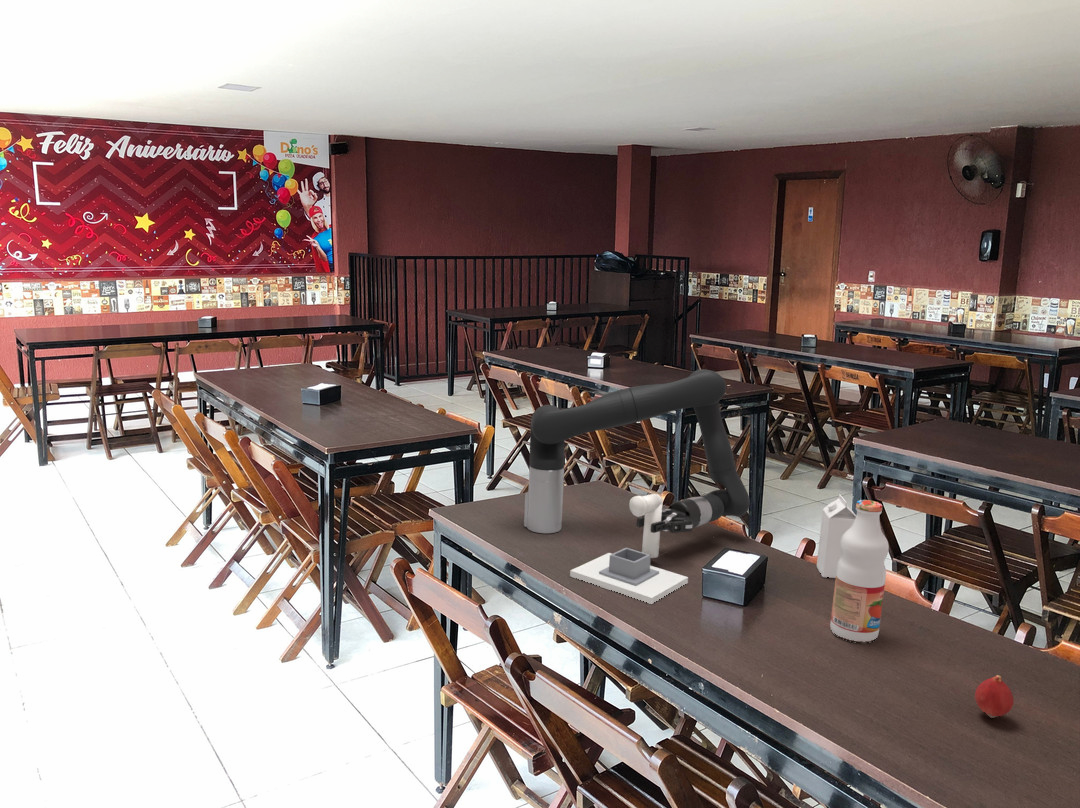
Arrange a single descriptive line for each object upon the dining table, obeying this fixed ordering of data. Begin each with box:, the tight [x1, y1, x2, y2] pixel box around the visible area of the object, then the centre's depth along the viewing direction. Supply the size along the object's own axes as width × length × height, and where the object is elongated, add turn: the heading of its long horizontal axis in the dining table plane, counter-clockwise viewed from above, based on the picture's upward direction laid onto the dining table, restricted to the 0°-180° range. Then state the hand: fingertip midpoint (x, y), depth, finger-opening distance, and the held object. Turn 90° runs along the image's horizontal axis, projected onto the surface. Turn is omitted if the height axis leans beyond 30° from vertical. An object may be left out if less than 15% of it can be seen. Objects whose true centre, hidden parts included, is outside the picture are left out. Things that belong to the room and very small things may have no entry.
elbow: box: [629, 493, 664, 559], centre depth 209 cm, size 8×5×16 cm, turn 132°
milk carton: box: [816, 493, 857, 579], centre depth 209 cm, size 7×7×19 cm
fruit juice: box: [829, 499, 889, 642], centre depth 176 cm, size 9×9×28 cm
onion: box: [974, 674, 1015, 717], centre depth 148 cm, size 6×6×8 cm
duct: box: [569, 547, 689, 605], centre depth 201 cm, size 22×16×6 cm
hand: (644, 525), depth 209 cm, fingers closed on elbow, 4 cm apart
